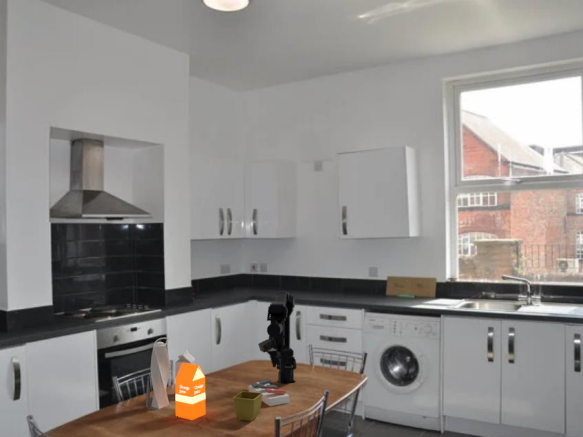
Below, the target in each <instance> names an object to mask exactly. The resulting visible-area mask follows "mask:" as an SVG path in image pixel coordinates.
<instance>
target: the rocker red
mask: <svg viewBox="0 0 583 437" xmlns="http://www.w3.org/2000/svg"><path fill="white" fill-rule="evenodd" d="M265 391H266V392H268V393H282V394H287V391H286V390H285V389H283V388H279V389H267V388H265Z"/></svg>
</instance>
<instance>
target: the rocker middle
mask: <svg viewBox="0 0 583 437" xmlns="http://www.w3.org/2000/svg"><path fill="white" fill-rule="evenodd" d="M258 387H260V388H261V389H265V388H267V389H280V387H279V386H278V385H276V384H270V385H262V384H259V385H258Z"/></svg>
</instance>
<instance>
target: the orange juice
mask: <svg viewBox="0 0 583 437" xmlns="http://www.w3.org/2000/svg"><path fill="white" fill-rule="evenodd" d="M206 398H207V397H206V375H205V373H203V370H202V368H201V367H200V366H199V364H196V365H195V364H189V363H182V365H181V367H180V370H179V372H178V375H177V377H176V388H175V417H177V416H178V417H177V418H182V419H186V420H190V421H193V420H196V419H197V418H200V417H202V416H205V415H206Z"/></svg>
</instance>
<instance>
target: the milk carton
mask: <svg viewBox="0 0 583 437" xmlns="http://www.w3.org/2000/svg"><path fill="white" fill-rule="evenodd" d="M177 357H178V359H177V361H175V363H174V364H175V366H174V367H175V368H174V369H175V370H174V371H175V373H174V374H175V375H174V376H175V379H174V380H175V381H174V382H175V383H174V384H175V389H176V377H177V375H178V372H179V370H180V367H181V365H182V363H189V364H195V365H197V364H196V358H195V357H194V356H193V355H192V354H190V352H189V350H188V349H186V350H185V351H184V352H183V353H181V354H179V356H177Z"/></svg>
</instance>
